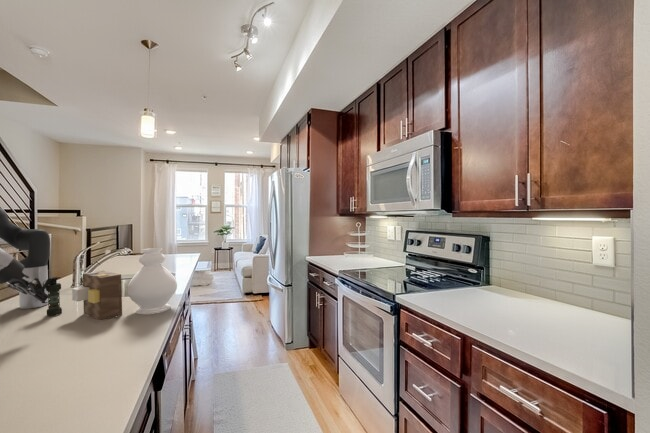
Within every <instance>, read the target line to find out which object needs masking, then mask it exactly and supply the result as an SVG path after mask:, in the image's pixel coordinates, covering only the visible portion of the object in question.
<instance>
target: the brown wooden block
mask: <svg viewBox="0 0 650 433" xmlns="http://www.w3.org/2000/svg"><path fill="white" fill-rule="evenodd" d="M84 286H85V287H89V288H90V289H99V290H100V302H98V303H91V302H88V300H83V301H82V302H83V315H85V316H88V317H90V318H93V319H95V320H99V321H101V322H104V321H106V320H110V319H113V317H114V318H117V317H120V316H123V299H122V298H123V296H122V294H123V291H122V274H121V273H115V272H110V271H105V270H100V271H92V272H86V273H82V287H84ZM116 316H117V317H116Z"/></svg>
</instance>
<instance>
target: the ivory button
mask: <svg viewBox="0 0 650 433" xmlns="http://www.w3.org/2000/svg"><path fill="white" fill-rule="evenodd" d="M88 290H90V288H89V287H85V286H84V287H83V286H80V287H73V288H71V294H72V295H71V296H72V299H71V300H72V301H74V302H77V303H78V302H83V300H88Z"/></svg>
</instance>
